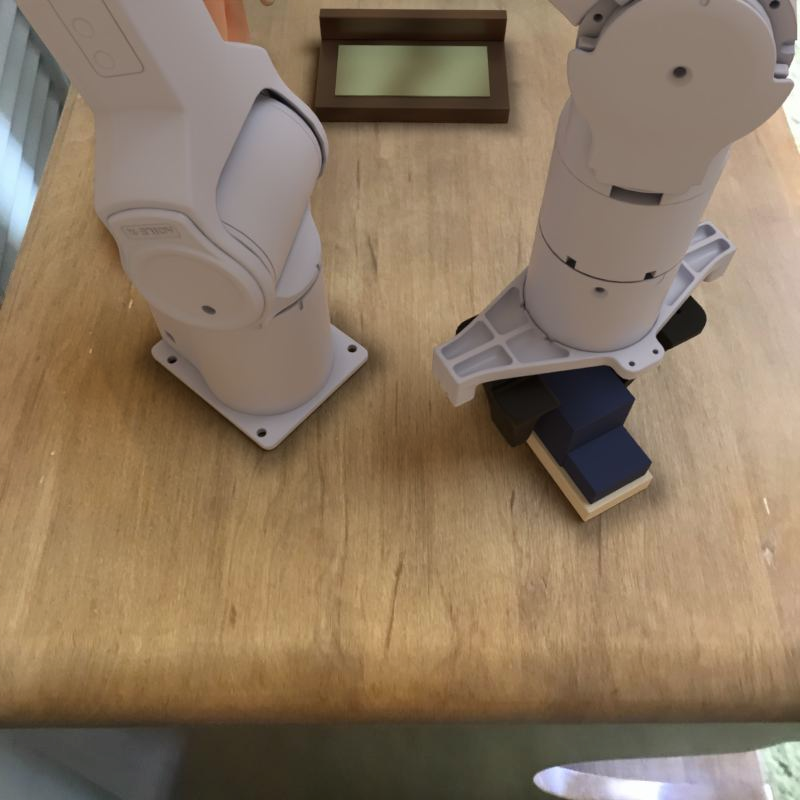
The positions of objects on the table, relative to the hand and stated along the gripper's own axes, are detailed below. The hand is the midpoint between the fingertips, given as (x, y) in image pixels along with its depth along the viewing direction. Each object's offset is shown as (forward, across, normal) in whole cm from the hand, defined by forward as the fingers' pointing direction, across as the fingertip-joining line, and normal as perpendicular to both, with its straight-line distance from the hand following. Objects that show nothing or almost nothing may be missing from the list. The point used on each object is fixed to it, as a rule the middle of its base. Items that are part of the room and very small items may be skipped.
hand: (556, 405), depth 43 cm
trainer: (+1, 0, -1) cm, 2 cm away
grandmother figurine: (+2, -4, +35) cm, 35 cm away
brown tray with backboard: (+1, +7, +27) cm, 28 cm away
